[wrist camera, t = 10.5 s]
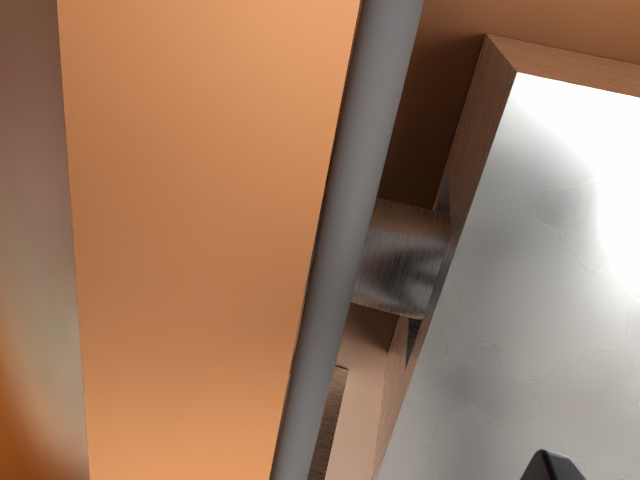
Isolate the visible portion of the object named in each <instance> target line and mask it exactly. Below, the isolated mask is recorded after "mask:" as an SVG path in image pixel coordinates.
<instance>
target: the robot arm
mask: <svg viewBox="0 0 640 480" xmlns="http://www.w3.org/2000/svg"><path fill="white" fill-rule="evenodd" d="M520 480H587V479H586V477H585V476H584V475H583V474H582V472H581V471H580V470H579V468H578V467H577V466H576V464H575V463H574V462H573V461H572V460H571V459H570V458H569V457H568V456H566V455H564V454H560V453H557V452H553V451H549V450H546V449H539V450H538V451H536V452H535V454H534V455H533V457H532V459H531V460H530V462H529V464H528V466H527V468H526V469H525V471H524V473H523V475H522V476H521V478H520Z"/></svg>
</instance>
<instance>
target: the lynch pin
mask: <svg viewBox="0 0 640 480" xmlns="http://www.w3.org/2000/svg"><path fill="white" fill-rule="evenodd" d="M326 190H327V185H325V188H324V193H323V199H322V204H321V209H320V214H319V220H318V225H317V230H316V235H315V241H314V246H313V251H312V256H311V262H310V267H309V272H308V277H307V283H306V288H305V291H307V288H308V283H309V278H310V273H311V267H312V262H313V257H314V252H315V247H316V241H317V236H318V231H319V226H320V221H321V215H322V210H323V205H324V200H325V195H326ZM450 236H451V218H450V214H445V213H441V212H437V211H433V210H429V209H424V208H420V207H416V206H412V205H408V204H404V203H399V202H395V201H391V200H387V199H383V198H378V197H376V200H375V204H374V209H373V213H372V217H371V221H370V225H369V229H368V233H367V237H366V241H365V245H364V249H363V253H362V257H361V261H360V266H359V270H358V274H357V278H356V282H355V286H354V290H353V294H352V298H351V303H355V304H359V305H363V306H366V307H370V308H374V309H378V310H382V311H386V312H390V313H393V314H397V315H401V316H405V317H409V318H413V319H417V320H421V321H422V320H423V317H424V314H425V311H426V308H427V305H428V302H429V299H430V296H431V293H432V290H433V287H434V284H435V281H436V278H437V275H438V272H439V269H440V266H441V263H442V260H443V257H444V254H445V251H446V248H447V245H448V242H449V239H450Z"/></svg>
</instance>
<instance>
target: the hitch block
mask: <svg viewBox="0 0 640 480" xmlns="http://www.w3.org/2000/svg"><path fill="white" fill-rule="evenodd" d="M432 210H433V211H437V212H441V213H445V214H450V218H451V236H450V239H449V242H448V245H447V248H446V251H445V254H444V257H443V260H442V263H441V266H440V269H439V272H438V275H437V278H436V281H435V284H434V287H433V290H432V293H431V296H430V299H429V302H428V305H427V308H426V311H425V314H424V317H423V320H422V321H421V320H417V319H413V318H409V317H405V316H401V315H400V316H399V319H398V322H397V325H396V329H395V332H394V335H393V338H392V342H391V345H390V348H389V351H388V356H387V364H386V371H385V379H384V387H383V395H382V403H381V411H380V419H379V427H378V435H377V443H376V451H375V459H374V467H373V475H372V480H520V478H521V476H522V475H523V473H524V471H525V469H526V468H527V466H528V464H529V462H530V460H531V459H532V457H533V455H534V454H535V452H536V451H538V450H539V449H546V450H549V451H553V452H557V453H560V454H564V455H566V456H568V457H569V458H570V459H571V460H572V461H573V462H574V463H575V464H576V466H577V467H578V468H579V470H580V471H581V472H582V474H583V475H584V476H585V477H586V479H587V480H640V65H637V64H632V63H627V62H622V61H617V60H613V59H608V58H603V57H598V56H593V55H588V54H583V53H578V52H574V51H569V50H564V49H559V48H554V47H549V46H544V45H539V44H535V43H530V42H525V41H520V40H515V39H510V38H505V37H501V36H496V35H491V34H486V35H485V38H484V42H483V45H482V48H481V52H480V55H479V58H478V61H477V65H476V68H475V71H474V74H473V78H472V81H471V84H470V87H469V91H468V94H467V97H466V100H465V104H464V107H463V110H462V113H461V117H460V120H459V123H458V126H457V130H456V133H455V136H454V140H453V143H452V146H451V149H450V153H449V156H448V159H447V162H446V166H445V169H444V172H443V175H442V179H441V182H440V185H439V188H438V192H437V195H436V198H435V201H434V205H433V208H432ZM347 375H348V370H347V369H343V368H339V367H334V371H333V376H332V380H331V384H330V388H329V392H328V396H327V400H326V404H325V408H324V412H323V416H322V420H321V424H320V428H319V433H318V437H317V441H316V445H315V449H314V453H313V457H312V461H311V465H310V469H309V473H308V477H307V480H325V475H326V471H327V466H328V462H329V457H330V453H331V448H332V443H333V439H334V434H335V430H336V425H337V421H338V416H339V411H340V407H341V402H342V398H343V393H344V389H345V384H346V379H347ZM289 381H290V379H289ZM288 387H289V382H288V384H287V388H286V393H285V398H284V404H283V409H282V414H281V419H280V425H279V430H278V435H277V440H276V446H275V451H274V456H273V461H272V467H271V472H270V477H269V480H271V475H272V470H273V465H274V459H275V454H276V449H277V444H278V439H279V433H280V428H281V423H282V418H283V413H284V407H285V402H286V397H287V392H288Z"/></svg>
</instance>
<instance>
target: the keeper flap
mask: <svg viewBox="0 0 640 480" xmlns="http://www.w3.org/2000/svg"><path fill="white" fill-rule="evenodd" d="M424 1H425V0H363V3H362V8H361V13H360V18H359V23H358V29H357V34H356V39H355V44H354V49H353V55H352V60H351V65H350V70H349V75H348V81H347V86H346V91H345V96H344V101H343V106H342V112H341V117H340V122H339V127H338V132H337V138H336V143H335V148H334V153H333V158H332V164H331V169H330V174H329V179H328V184H327V190H326V195H325V200H324V205H323V210H322V215H321V221H320V226H319V231H318V236H317V241H316V247H315V252H314V257H313V262H312V267H311V273H310V278H309V283H308V288H307V293H306V298H305V304H304V309H303V314H302V319H301V324H300V330H299V335H298V340H297V345H296V350H295V356H294V361H293V366H292V371H291V376H290V381H289V387H288V392H287V397H286V402H285V407H284V413H283V418H282V423H281V428H280V433H279V439H278V444H277V449H276V454H275V459H274V465H273V470H272V475H271V480H307V477H308V473H309V469H310V465H311V461H312V457H313V453H314V449H315V445H316V441H317V437H318V433H319V428H320V424H321V420H322V416H323V412H324V408H325V404H326V400H327V396H328V392H329V388H330V384H331V380H332V376H333V371H334V367H335V363H336V359H337V355H338V351H339V347H340V343H341V339H342V335H343V331H344V327H345V323H346V318H347V314H348V310H349V306H350V302H351V298H352V294H353V290H354V286H355V282H356V278H357V274H358V270H359V266H360V261H361V257H362V253H363V249H364V245H365V241H366V237H367V233H368V229H369V225H370V221H371V217H372V213H373V209H374V204H375V200H376V196H377V192H378V188H379V184H380V180H381V176H382V172H383V168H384V164H385V160H386V156H387V151H388V147H389V143H390V139H391V135H392V131H393V127H394V123H395V119H396V115H397V111H398V107H399V103H400V99H401V94H402V90H403V86H404V82H405V78H406V74H407V70H408V66H409V62H410V58H411V54H412V50H413V46H414V41H415V37H416V33H417V29H418V25H419V21H420V17H421V13H422V9H423V5H424ZM359 4H360V0H57V12H58V26H59V41H60V55H61V70H62V84H63V98H64V113H65V127H66V142H67V156H68V170H69V185H70V199H71V214H72V228H73V243H74V257H75V271H76V286H77V300H78V315H79V329H80V343H81V358H82V372H83V387H84V401H85V415H86V430H87V444H88V459H89V473H90V480H269V477H270V472H271V467H272V461H273V456H274V451H275V446H276V440H277V435H278V430H279V425H280V419H281V414H282V409H283V404H284V398H285V393H286V388H287V383H288V377H289V372H290V367H291V362H292V356H293V351H294V346H295V341H296V335H297V330H298V325H299V320H300V314H301V309H302V304H303V299H304V293H305V288H306V283H307V277H308V272H309V267H310V262H311V256H312V251H313V246H314V241H315V235H316V230H317V225H318V220H319V214H320V209H321V204H322V199H323V193H324V188H325V183H326V178H327V172H328V167H329V162H330V157H331V151H332V146H333V141H334V136H335V130H336V125H337V120H338V115H339V109H340V104H341V99H342V94H343V88H344V83H345V78H346V73H347V67H348V62H349V57H350V52H351V46H352V41H353V36H354V31H355V25H356V20H357V15H358V10H359Z"/></svg>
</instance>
